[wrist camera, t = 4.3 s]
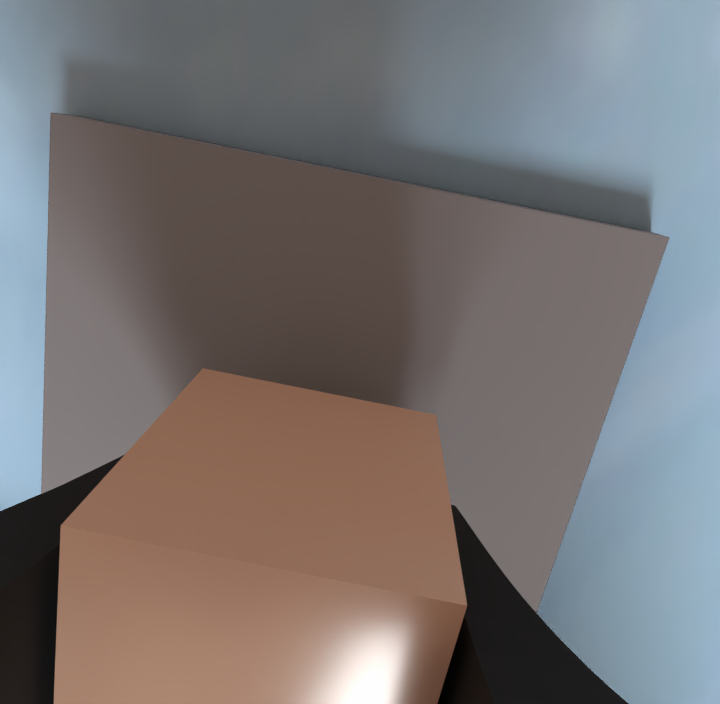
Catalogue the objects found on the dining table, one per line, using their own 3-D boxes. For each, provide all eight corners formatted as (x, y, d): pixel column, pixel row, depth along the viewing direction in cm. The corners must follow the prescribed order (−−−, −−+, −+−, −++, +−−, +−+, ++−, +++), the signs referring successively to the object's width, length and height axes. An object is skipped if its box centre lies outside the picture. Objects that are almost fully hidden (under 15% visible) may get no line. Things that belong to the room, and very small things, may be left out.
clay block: (436, 414, 11) (467, 606, 6) (387, 604, 13) (384, 877, 8) (203, 368, 11) (60, 524, 6) (180, 564, 13) (48, 812, 8)
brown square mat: (652, 232, 12) (669, 237, 12) (498, 678, 16) (503, 704, 15) (72, 115, 12) (50, 112, 11) (54, 592, 16) (38, 615, 15)
